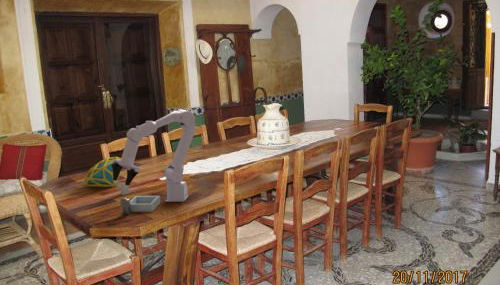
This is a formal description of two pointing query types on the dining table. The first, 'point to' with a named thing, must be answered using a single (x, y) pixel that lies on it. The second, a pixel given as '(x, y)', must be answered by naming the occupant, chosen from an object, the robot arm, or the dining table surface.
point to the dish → (144, 203)
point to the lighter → (123, 188)
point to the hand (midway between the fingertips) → (120, 182)
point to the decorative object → (101, 174)
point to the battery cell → (125, 206)
